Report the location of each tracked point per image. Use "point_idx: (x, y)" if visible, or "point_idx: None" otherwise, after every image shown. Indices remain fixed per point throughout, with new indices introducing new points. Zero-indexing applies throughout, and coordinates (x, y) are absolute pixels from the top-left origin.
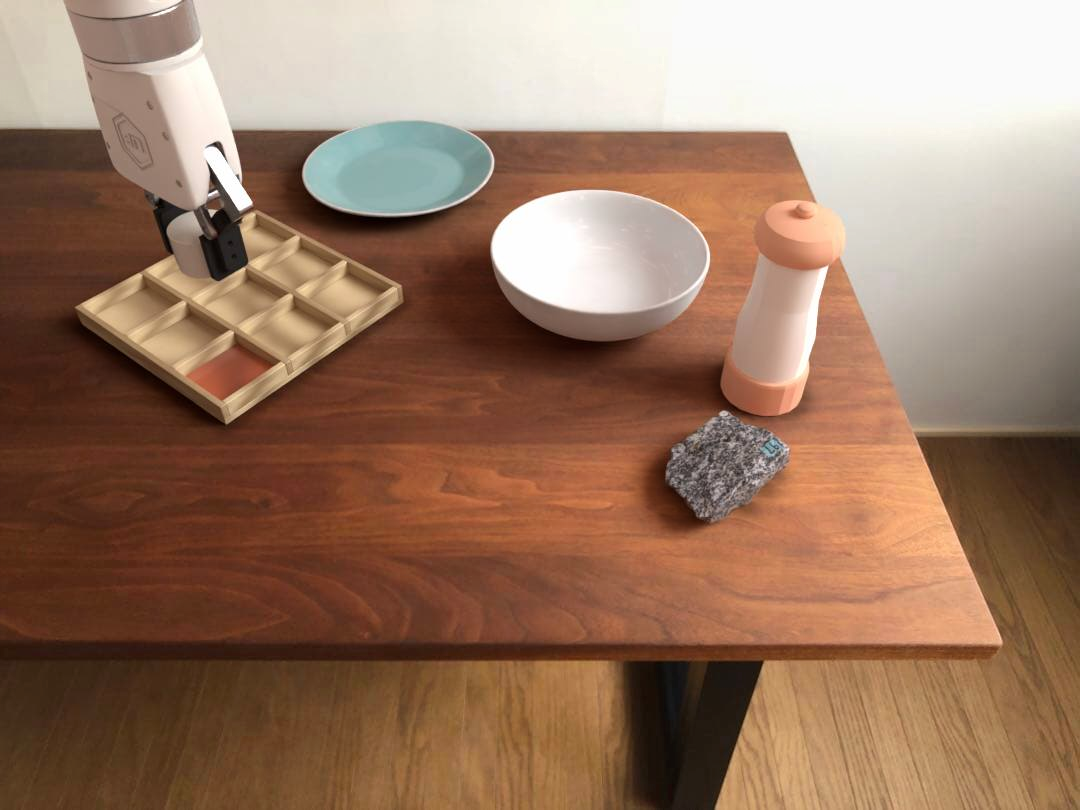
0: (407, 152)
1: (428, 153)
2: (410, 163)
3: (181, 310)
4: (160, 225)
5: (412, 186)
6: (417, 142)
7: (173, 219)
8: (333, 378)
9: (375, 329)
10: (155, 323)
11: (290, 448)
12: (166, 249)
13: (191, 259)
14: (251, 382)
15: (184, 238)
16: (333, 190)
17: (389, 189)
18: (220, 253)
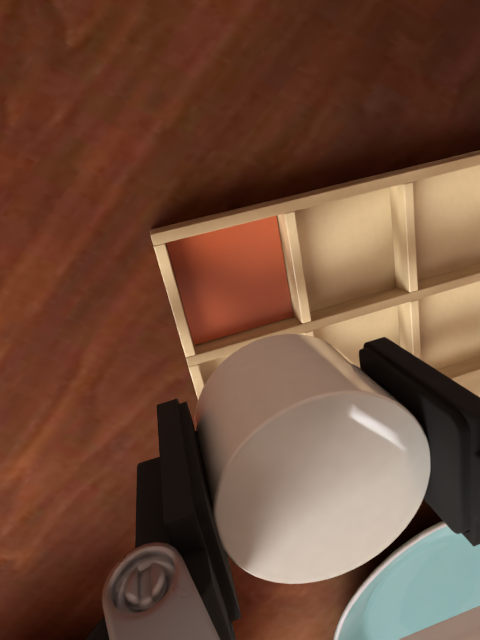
0: None
1: None
2: (447, 613)
3: (404, 279)
4: (434, 386)
5: (409, 603)
6: None
7: (427, 435)
8: (150, 394)
9: None
10: (403, 234)
11: (42, 287)
12: (385, 339)
13: (235, 396)
14: (177, 299)
15: (290, 437)
16: None
17: (425, 580)
18: (148, 502)
